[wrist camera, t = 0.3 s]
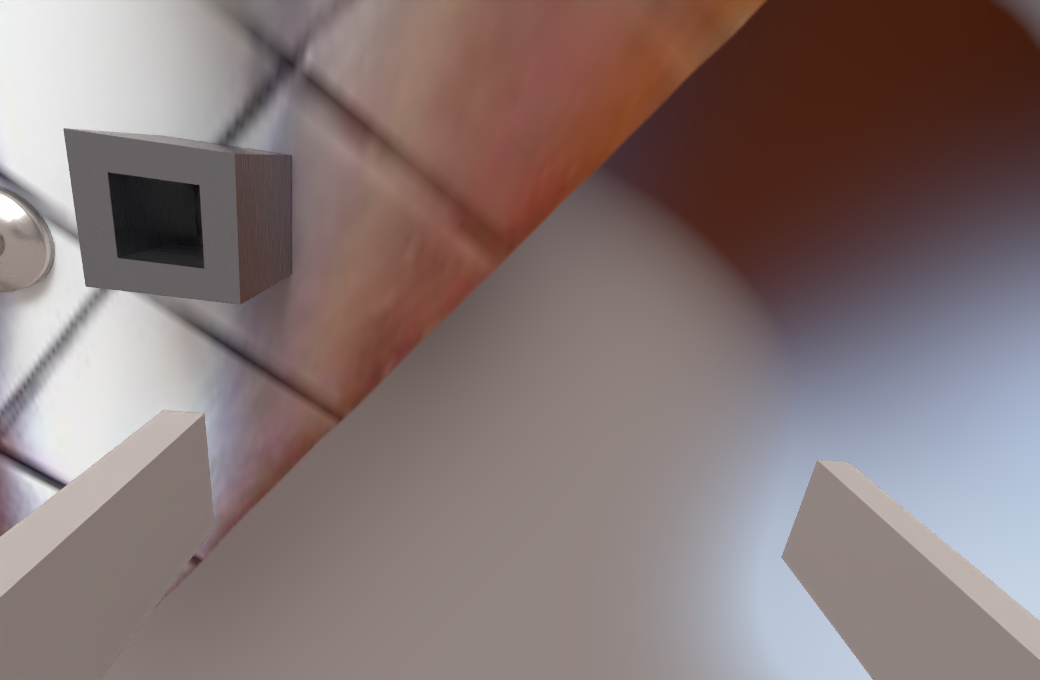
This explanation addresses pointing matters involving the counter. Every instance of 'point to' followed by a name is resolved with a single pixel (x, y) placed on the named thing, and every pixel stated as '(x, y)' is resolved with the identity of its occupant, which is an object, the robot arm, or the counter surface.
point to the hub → (22, 243)
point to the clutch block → (180, 215)
